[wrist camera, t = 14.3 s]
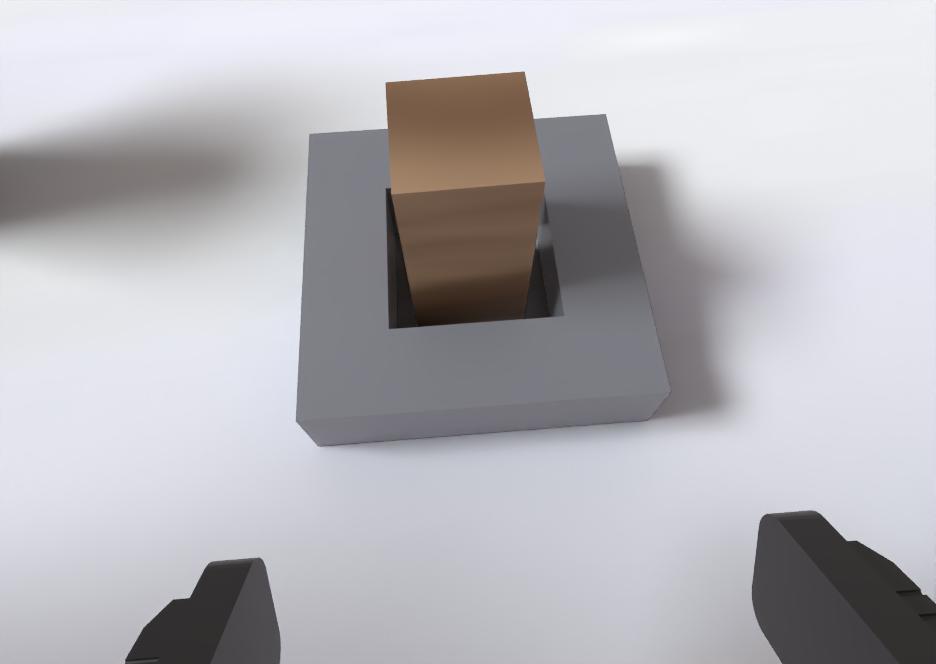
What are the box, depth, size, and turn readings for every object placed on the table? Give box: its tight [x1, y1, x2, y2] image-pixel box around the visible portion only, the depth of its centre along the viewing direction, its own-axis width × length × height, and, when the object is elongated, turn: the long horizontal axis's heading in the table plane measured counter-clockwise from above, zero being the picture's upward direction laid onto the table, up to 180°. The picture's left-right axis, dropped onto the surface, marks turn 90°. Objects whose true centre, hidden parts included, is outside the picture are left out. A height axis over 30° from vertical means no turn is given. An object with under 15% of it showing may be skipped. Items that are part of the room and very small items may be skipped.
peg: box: [386, 72, 545, 327], centre depth 21 cm, size 4×4×9 cm
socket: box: [296, 114, 671, 446], centre depth 23 cm, size 12×12×3 cm
